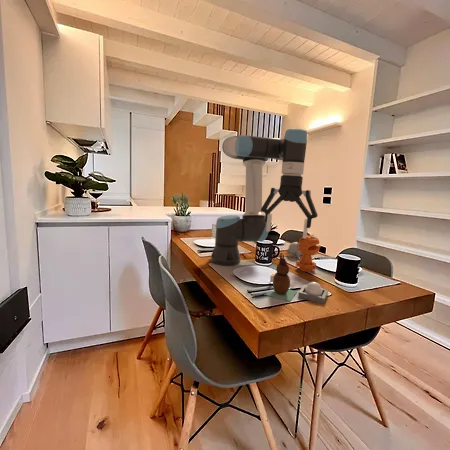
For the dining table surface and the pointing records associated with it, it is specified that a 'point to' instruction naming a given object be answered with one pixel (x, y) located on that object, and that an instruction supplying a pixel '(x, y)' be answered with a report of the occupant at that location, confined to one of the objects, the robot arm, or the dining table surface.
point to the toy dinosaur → (307, 253)
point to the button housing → (313, 297)
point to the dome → (314, 289)
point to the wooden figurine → (281, 277)
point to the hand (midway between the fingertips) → (285, 233)
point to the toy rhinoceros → (294, 250)
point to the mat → (283, 295)
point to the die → (272, 276)
